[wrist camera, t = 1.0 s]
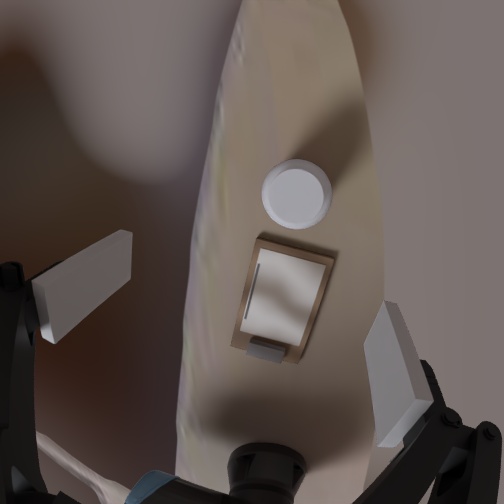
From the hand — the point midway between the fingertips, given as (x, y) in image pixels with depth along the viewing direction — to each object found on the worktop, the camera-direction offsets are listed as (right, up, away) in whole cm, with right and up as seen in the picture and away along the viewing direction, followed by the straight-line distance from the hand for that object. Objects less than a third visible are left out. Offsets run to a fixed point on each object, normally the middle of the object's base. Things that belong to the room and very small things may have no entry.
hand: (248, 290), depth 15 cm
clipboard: (+4, -5, +26) cm, 27 cm away
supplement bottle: (+6, +9, +22) cm, 25 cm away
